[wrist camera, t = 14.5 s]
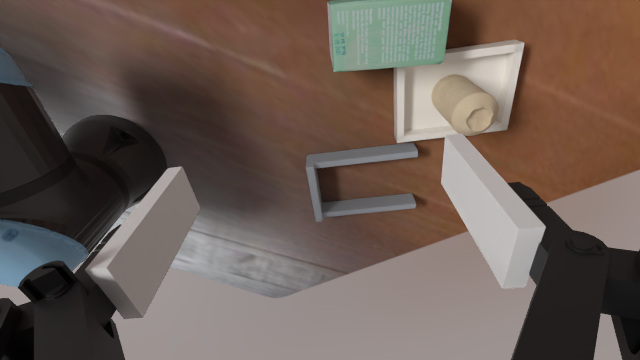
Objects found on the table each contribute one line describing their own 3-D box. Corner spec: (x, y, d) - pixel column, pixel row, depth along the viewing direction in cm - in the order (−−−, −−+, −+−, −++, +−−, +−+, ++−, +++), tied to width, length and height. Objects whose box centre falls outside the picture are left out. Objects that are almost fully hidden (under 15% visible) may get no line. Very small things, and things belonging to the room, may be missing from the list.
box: (429, 52, 42) (448, 64, 36) (330, 61, 43) (331, 74, 37) (435, -11, 39) (457, -10, 32) (326, 0, 39) (327, 3, 33)
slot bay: (316, 207, 57) (315, 221, 54) (306, 154, 51) (305, 167, 48) (411, 197, 56) (417, 211, 52) (413, 142, 50) (419, 154, 46)
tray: (394, 136, 49) (397, 142, 47) (393, 56, 43) (397, 60, 41) (499, 123, 48) (507, 129, 46) (514, 39, 41) (524, 42, 39)
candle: (424, 87, 44) (448, 113, 36) (462, 65, 43) (496, 87, 34) (439, 118, 47) (465, 149, 38) (475, 98, 45) (510, 126, 37)
